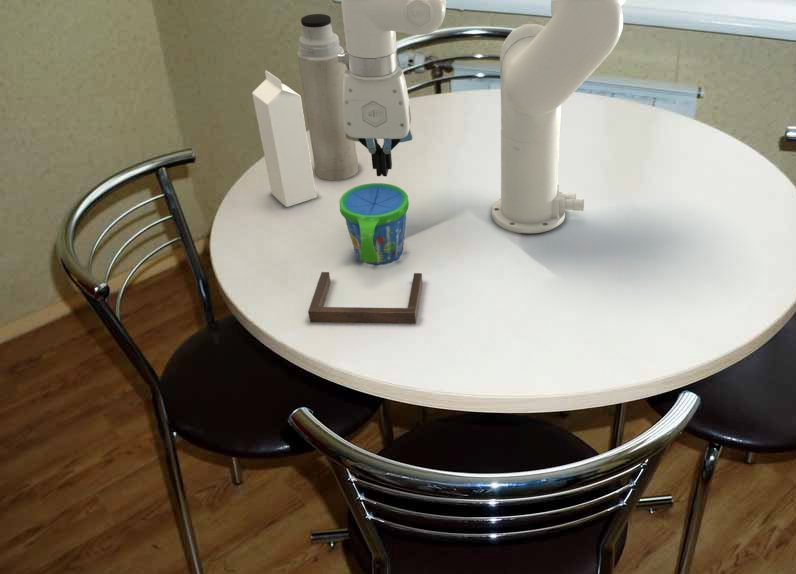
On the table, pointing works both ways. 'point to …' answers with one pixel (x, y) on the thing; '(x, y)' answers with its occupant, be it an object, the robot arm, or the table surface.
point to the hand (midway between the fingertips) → (382, 172)
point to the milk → (284, 141)
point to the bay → (363, 314)
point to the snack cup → (376, 221)
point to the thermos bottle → (325, 99)
